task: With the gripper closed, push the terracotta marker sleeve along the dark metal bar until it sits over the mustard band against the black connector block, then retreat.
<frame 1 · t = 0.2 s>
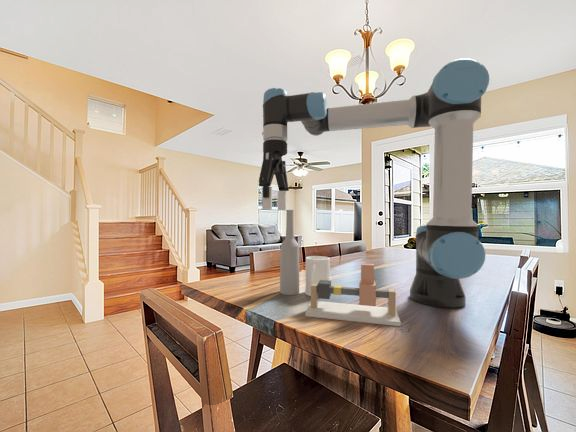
hand: (275, 210, 84), 28 cm above the table, fingers open, 13 cm apart
bottle: (289, 293, 91), on the table
rail fixture: (351, 313, 72), on the table
mug: (315, 295, 89), on the table
sleeve: (367, 283, 71), point 8 cm above the table, slide at 0.0 cm
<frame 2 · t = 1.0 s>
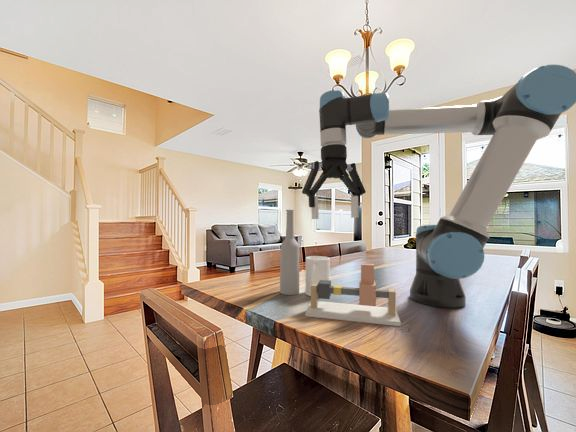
hand: (335, 218, 80), 25 cm above the table, fingers open, 13 cm apart
nothing on the table moved.
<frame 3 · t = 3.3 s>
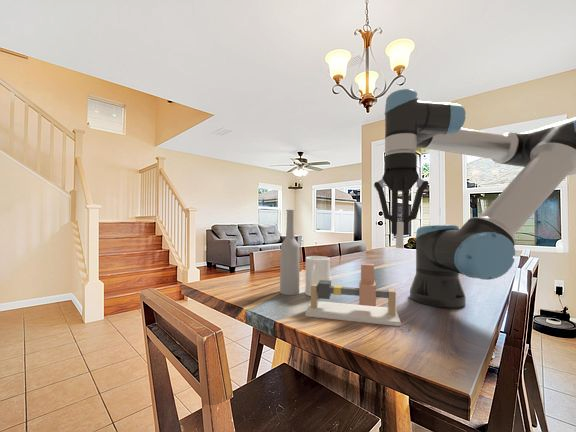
hand: (399, 247, 69), 18 cm above the table, fingers closed
nothing on the table moved.
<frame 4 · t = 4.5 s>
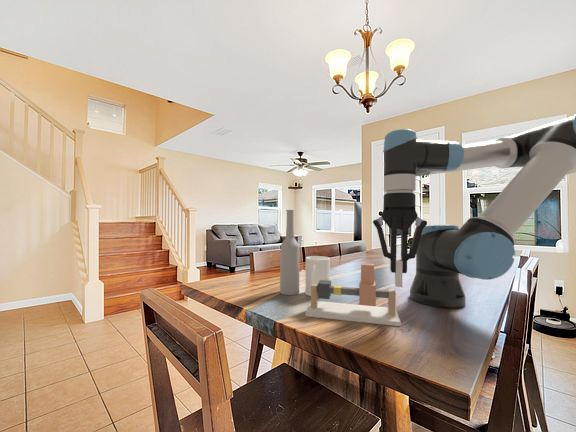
hand: (398, 285, 69), 8 cm above the table, fingers closed
nothing on the table moved.
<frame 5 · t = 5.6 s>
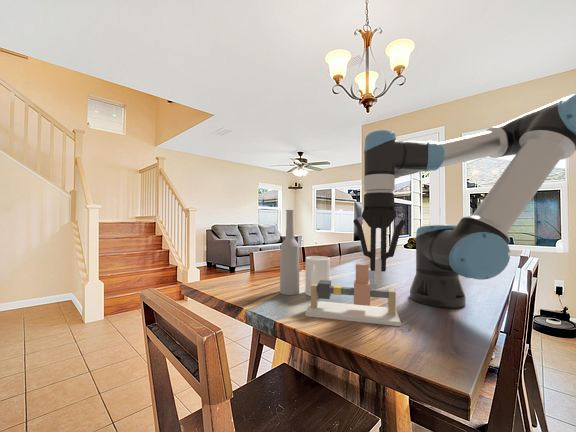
hand: (377, 283, 70), 9 cm above the table, fingers closed
sleeve: (362, 283, 71), point 8 cm above the table, slide at 1.4 cm, touching gripper
everything else where it was.
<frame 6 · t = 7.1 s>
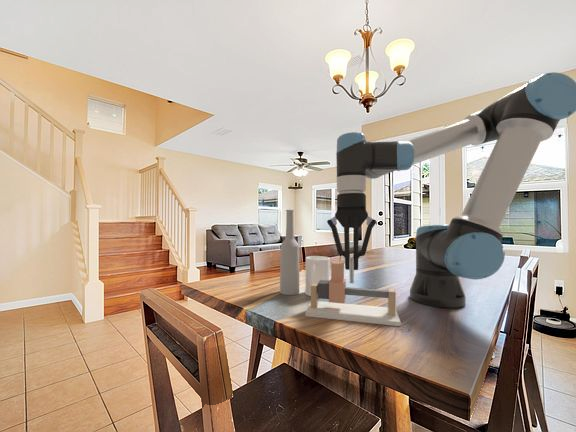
hand: (351, 281, 72), 9 cm above the table, fingers closed
sleeve: (337, 281, 73), point 8 cm above the table, slide at 7.7 cm, touching gripper, rail fixture
everything else where it was.
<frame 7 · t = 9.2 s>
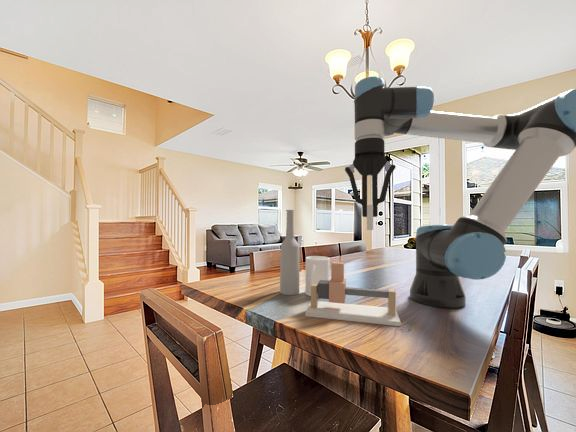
hand: (369, 229, 71), 23 cm above the table, fingers closed
sleeve: (337, 281, 73), point 8 cm above the table, slide at 7.7 cm
everything else where it was.
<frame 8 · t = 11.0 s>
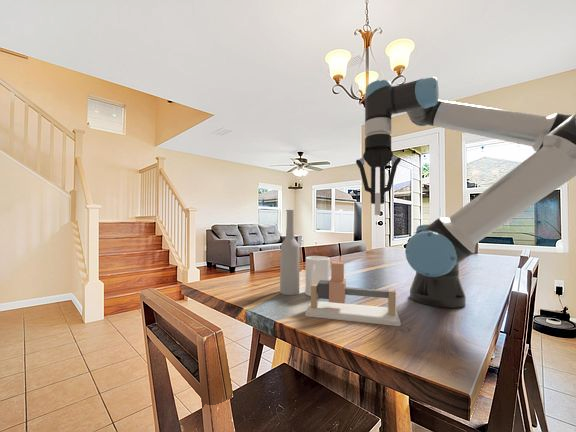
hand: (377, 214, 81), 26 cm above the table, fingers closed
nothing on the table moved.
at the end: sleeve slide at 7.7 cm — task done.
